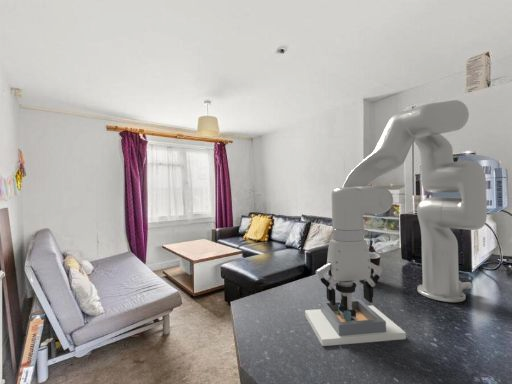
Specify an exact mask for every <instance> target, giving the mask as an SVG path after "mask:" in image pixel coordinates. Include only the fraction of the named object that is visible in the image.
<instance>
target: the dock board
mask: <svg viewBox="0 0 512 384" xmlns="http://www.w3.org/2000/svg"><path fill="white" fill-rule="evenodd" d="M335 301H336V304H335V305H332V304H331V303H330V302H329V301H328V300H327V301H326V300H324V301H320V308H317V309H316V308H315V309H305V310H304V314H305V318H306V320H307V321H308V324H309V325H310V327H311V328H312V330H313V332H314V334H315V336H316V337H317V340H318V342H319V343H320V344H321V347H327V346H340V345H349V344H365V343H375V342H377V343H378V342H388V341H399V340H406V339H407V333H406V331H404V330H403V329H402V328H401V327H400V326H398V325H397V324H396V323H395V322H394V321H392V320H391V319H390V318H389V317H387V316H386V315H385V314H384V313H383V312H382V311H380V310H379V309H378V308H377V307H375V306H374V304H373V305H372V304H371V305H368V304H366V302H364V301H363V300H361V299H360V298H354V299H353V298H352V308H353V309H354V310H355V311H356V318H357V319H358V320H356V321H350V322H348V321H346V320H345V319H344V318H343V319H342V318H341V317H340V316H339V315H338V305H340V300H338V299H337V300H335ZM356 318H355V319H356Z"/></svg>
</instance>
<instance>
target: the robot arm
mask: <svg viewBox="0 0 512 384" xmlns="http://www.w3.org/2000/svg"><path fill="white" fill-rule="evenodd" d="M469 115H470V113H469V109H468V107H467V105H466V104H465V103H464V102H463V101H461V100H457V99H456V100H455V99H454V100H447V101H440V102H433V103H432V102H431V103H426V104H423V105H420V106H417V107H413V108H410V109H407V110H403V111H400V112H398V113H396V114H393V115H392V116H391V117H390V118H389V120H388V121H387V123H386V125H385V127H384V129H383V131H382V134H381V135H380V138H379V139H378V141H377V144H376V146H375V147H374V149H373V151H372V152H371V153H369V155H368V156H366V157H365V158H364V159H363V160H361V162H360V163H359V164H357V165H356V166H355V167H354V168H353V169H352V170H351V171H350V172H349V173H348V175H347V177H346V179H345V181H344V183H343V185H342V187H337V188H334V189H333V190H332V191H331V219H332V221H331V222H332V239H330V240H329V241H328V249H327V259H326V264H324V265H323V266H321V267H320V268H318V269H316V270H315V274H316V276H317V277H318V279H319V281H320V282H321V283H322V284H323V285H324V286H325V287H326V288H325V289H326V299H327V301H329V302H330V303H331V304H332V305H335V304H336V301H337V300H336V288H334V287H336V286H335V285H336V283H337V282H343V281H352V282H355V281H359V280H364V281H365V283H364V284H363V283H362V285H363V287H362V288H363V299H364V300H366V301H367V302H369V303H371V304H372V303H373V299H374V287H375V286H376V285H375V283H376V282H377V281H378V282H379V279H380V276H381V274H382V272H383V268H382V267H381V266H380V265H379V266H377V265H375V264H373V263H371V262H370V255H369V253H370V251H369V246H368V243H367V240H365V239H366V238H365V236H369V231H368V230H367V229H365V228H364V215H365V214H368V215H381V214H384V213H387V212H389V210H390V209H391V207H392V206H393V203H394V197H393V194H392V193H391V191H390V190H389V189H388V188H386V187H385V186H380V185H369V184H371V183H372V182H373V181H374V180H376V179H377V178H380V177H381V176H383V175H386V174H388V173H390V172H392V171H394V170H396V169H398V168H400V167H401V166H402V165H403V164H404V163H405V161H406V159H407V156H408V154H409V152H410V149H411V147H412V145H413V143H414V144H415V145H416V146H417V148H418V150H419V156H420V167H421V168H420V170H421V172H420V173H421V174H420V178H421V186H422V188H423V190H425V192H428V193H434V194H436V193H437V194H460V197H452V196H451V197H450V196H444V197H443V196H442V197H441V196H432V197H427V198H424V199H422V200H420V201H419V203H418V204H417V207H416V213H417V214H416V215H417V219H418V223H419V228H420V235H421V237H420V238H421V240H420V241H421V264H422V265H421V267H422V272H421V273H422V274H421V275H422V284H421V283H420V284H418V285H417V292H418V293H419V294H421V296H424V297H426V298H428V299H431V300H435V301H439V302H443V303H444V302H446V303H460V302H461V303H462V302H464V301H465V300H466V294H465V293H464V292H463V290H468V289H472V288H473V287H474V284H473V283H472V282H470V281H466V282H464V281H463V282H462V281H461V280H460V279H459V277H460V275H459V244H458V239H457V237H456V235H455V234H454V233H453V231H452V230H451V229H459V230H466V231H467V230H468V231H477V230H480V229H482V228H483V227H484V226H485V224H486V223H487V218H488V211H487V210H488V203H487V178H486V177H487V176H486V173H485V169H484V168H483V166H482V165H481V164H480V163H479V162H478V161H477V162H476V161H474V160H473V161H472V160H462V161H459V160H458V161H454V153H453V145H452V144H451V143H450V141H449V140H448V139H447V138H446V137H445V136H444V135H442V134H447V133H451V132H457V131H459V130H461V129H463V128H464V127H465V126H466V124H467V123H468V120H469ZM371 268H372V269H374V273H373V274H372V275H371ZM325 273H326V274H327V276H328V277H327V278H325V276H324V274H325ZM359 282H360V281H359Z"/></svg>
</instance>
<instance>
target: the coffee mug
mask: <svg viewBox="0 0 512 384" xmlns="http://www.w3.org/2000/svg"><path fill="white" fill-rule="evenodd" d="M369 255H370V262H371V263H373V264H375V265H377V266H379V267H380V266H381V265H380V264H381V254H378V253H373V252H369ZM373 273H374V269H372V268H371V275H372V274H373ZM359 283H361V284H362V285H363V284H364V283H365V281H364V280H359ZM378 283H379V280H378V281H377V282H376V283H375V286H376V285H378Z"/></svg>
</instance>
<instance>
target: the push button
mask: <svg viewBox="0 0 512 384" xmlns="http://www.w3.org/2000/svg"><path fill="white" fill-rule="evenodd" d="M334 287H335V291H337V292H338V293H339V299H340V305H338V315H339V316H340V317H341V318H342V319H343V318H344V319H345V320H346V321H348V322H350V321H356V320H358V319H357V318H356V311H355V310H354V309H353V308H352V299H353V298H352V294H353V293H355V292H356V288H357V283H356V282H355V281H343V282H337V283H336V285H335V286H334ZM355 318H356V319H355Z"/></svg>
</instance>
